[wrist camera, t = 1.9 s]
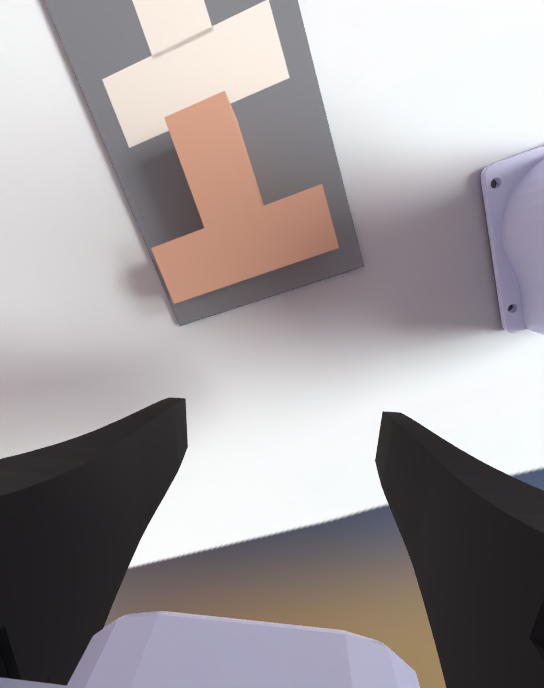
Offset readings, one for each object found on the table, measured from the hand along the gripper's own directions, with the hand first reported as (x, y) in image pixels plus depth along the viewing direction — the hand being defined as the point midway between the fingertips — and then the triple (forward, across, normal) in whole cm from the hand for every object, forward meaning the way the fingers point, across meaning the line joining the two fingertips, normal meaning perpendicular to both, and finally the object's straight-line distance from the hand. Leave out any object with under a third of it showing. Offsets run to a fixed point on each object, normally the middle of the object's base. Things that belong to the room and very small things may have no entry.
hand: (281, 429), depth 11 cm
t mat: (+9, +5, -13) cm, 17 cm away
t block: (+9, +3, -9) cm, 13 cm away
